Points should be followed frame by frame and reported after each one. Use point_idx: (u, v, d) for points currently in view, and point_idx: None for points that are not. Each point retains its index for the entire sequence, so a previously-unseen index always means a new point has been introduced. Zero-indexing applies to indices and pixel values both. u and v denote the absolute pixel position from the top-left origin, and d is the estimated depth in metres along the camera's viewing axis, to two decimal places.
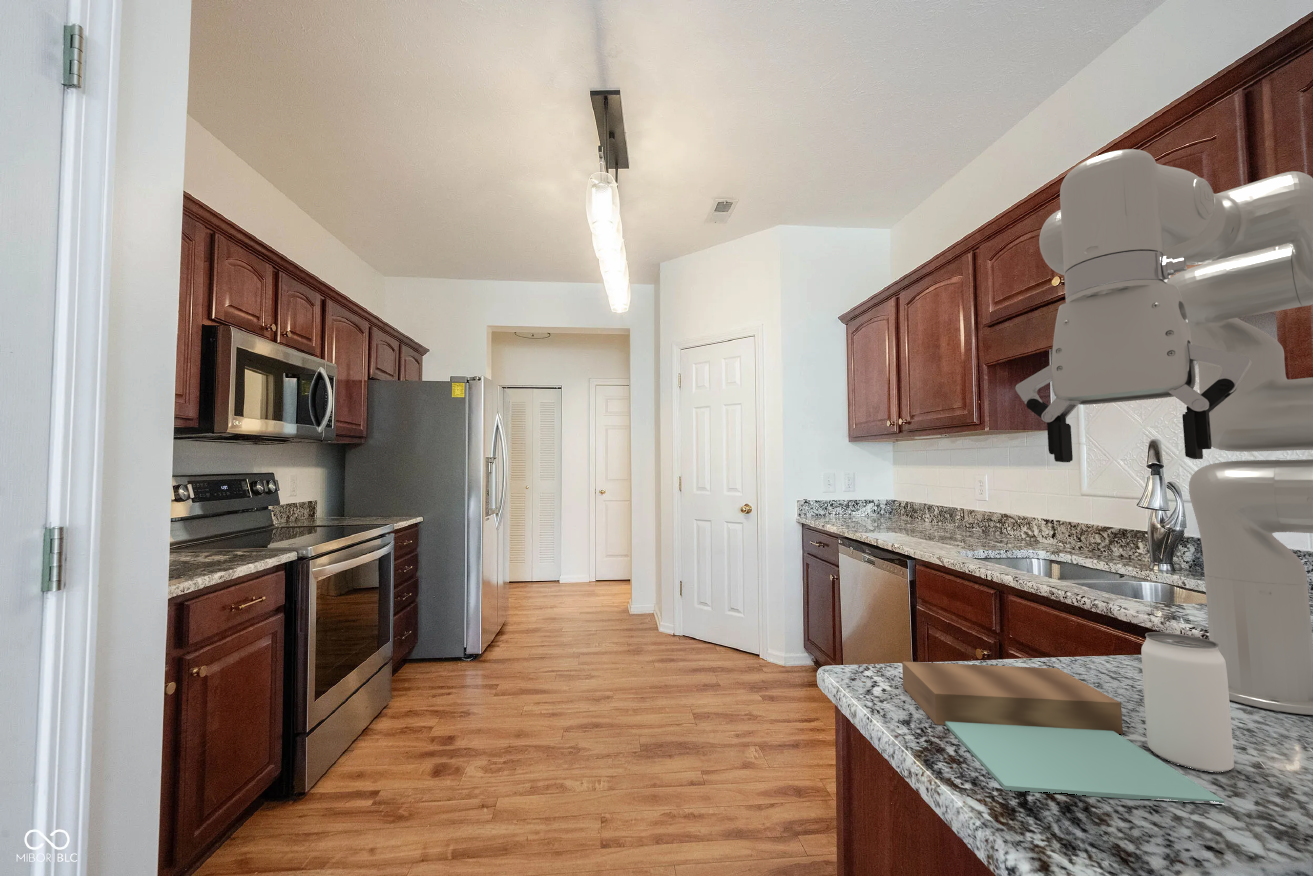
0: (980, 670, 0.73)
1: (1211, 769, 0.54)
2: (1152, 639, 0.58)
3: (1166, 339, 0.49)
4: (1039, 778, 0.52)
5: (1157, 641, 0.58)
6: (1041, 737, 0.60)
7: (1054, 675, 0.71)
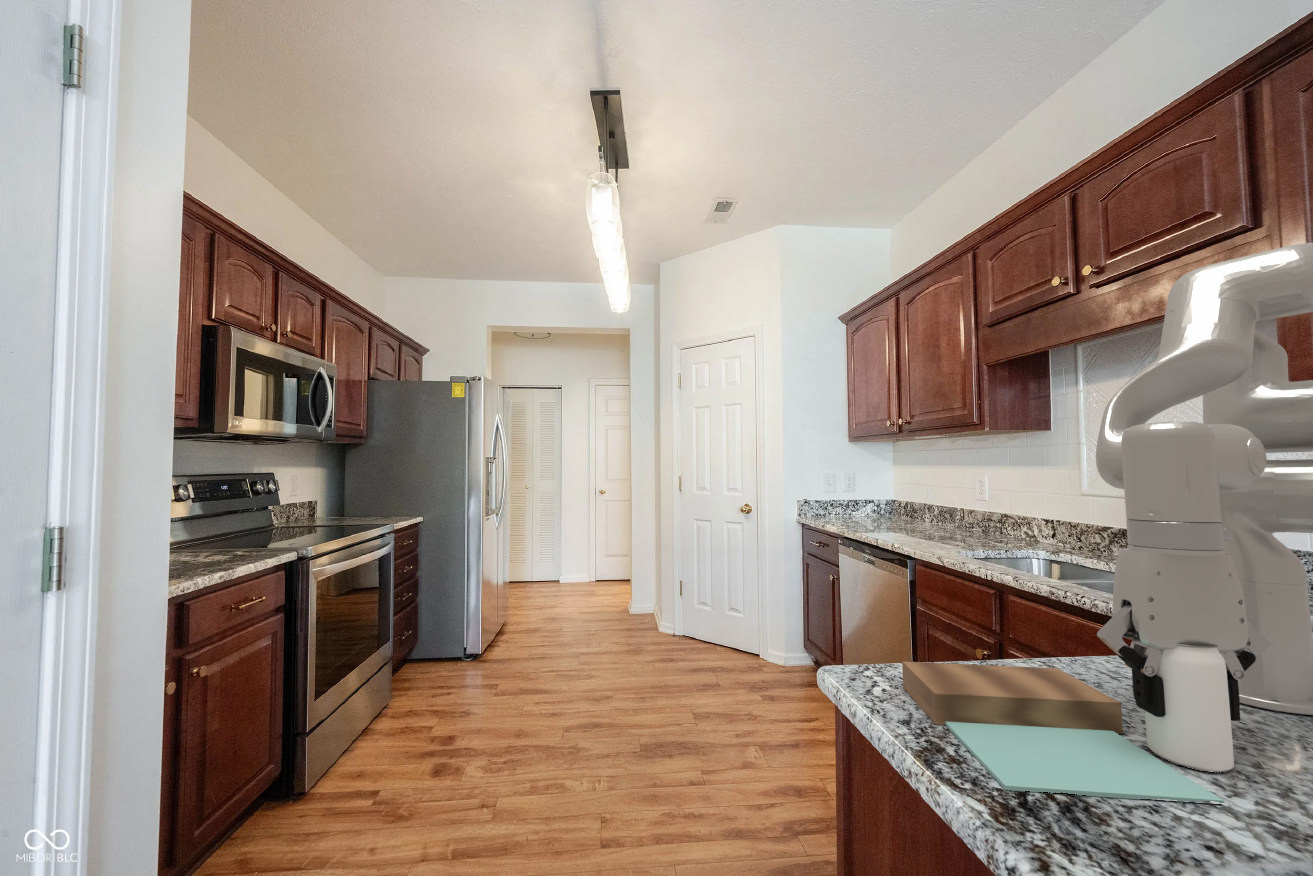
0: (980, 670, 0.73)
1: (1211, 769, 0.54)
2: None
3: (1238, 607, 0.56)
4: (1039, 778, 0.52)
5: None
6: (1041, 737, 0.60)
7: (1054, 675, 0.71)
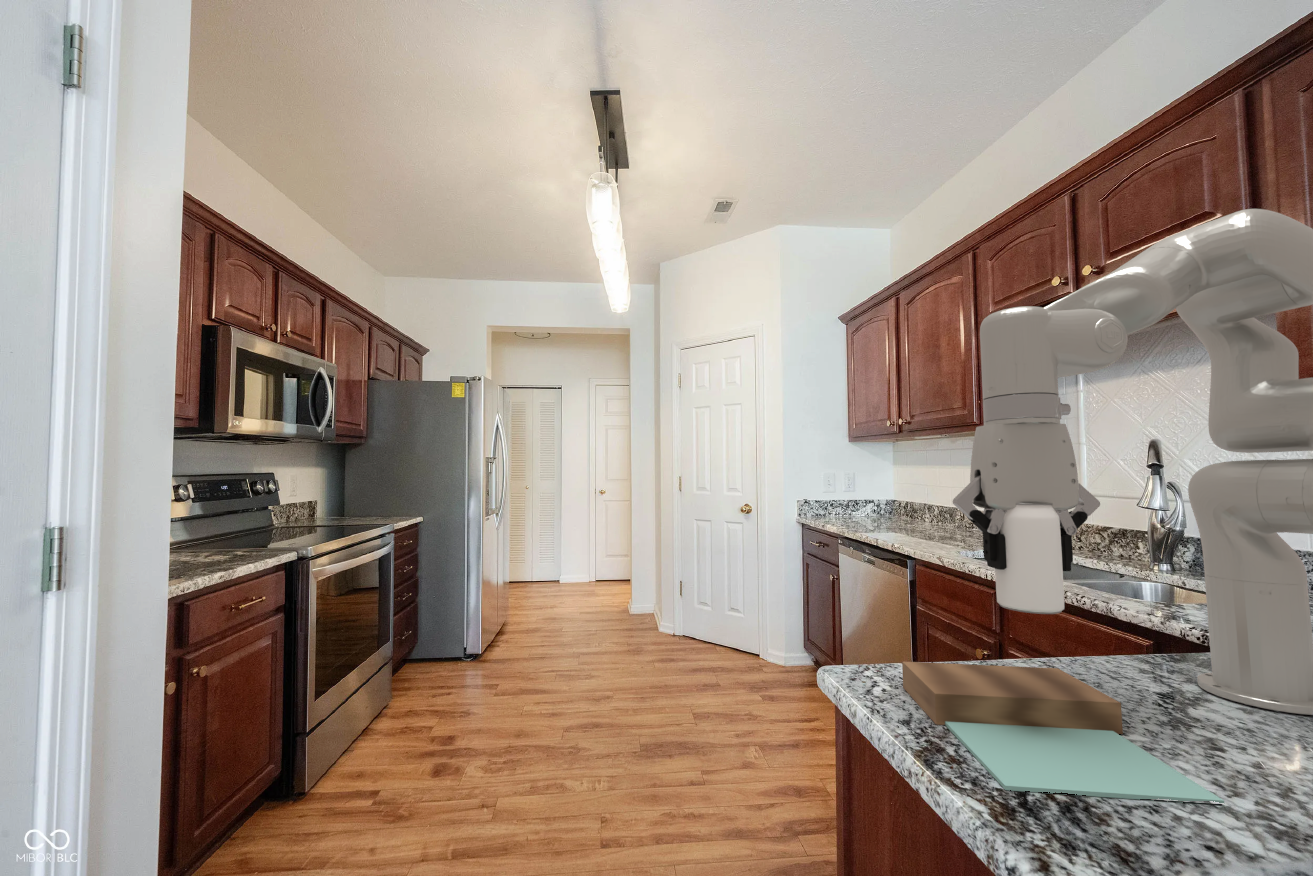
0: (980, 670, 0.73)
1: (1041, 610, 0.60)
2: None
3: (1070, 469, 0.62)
4: (1039, 778, 0.52)
5: None
6: (1041, 737, 0.60)
7: (1054, 675, 0.71)
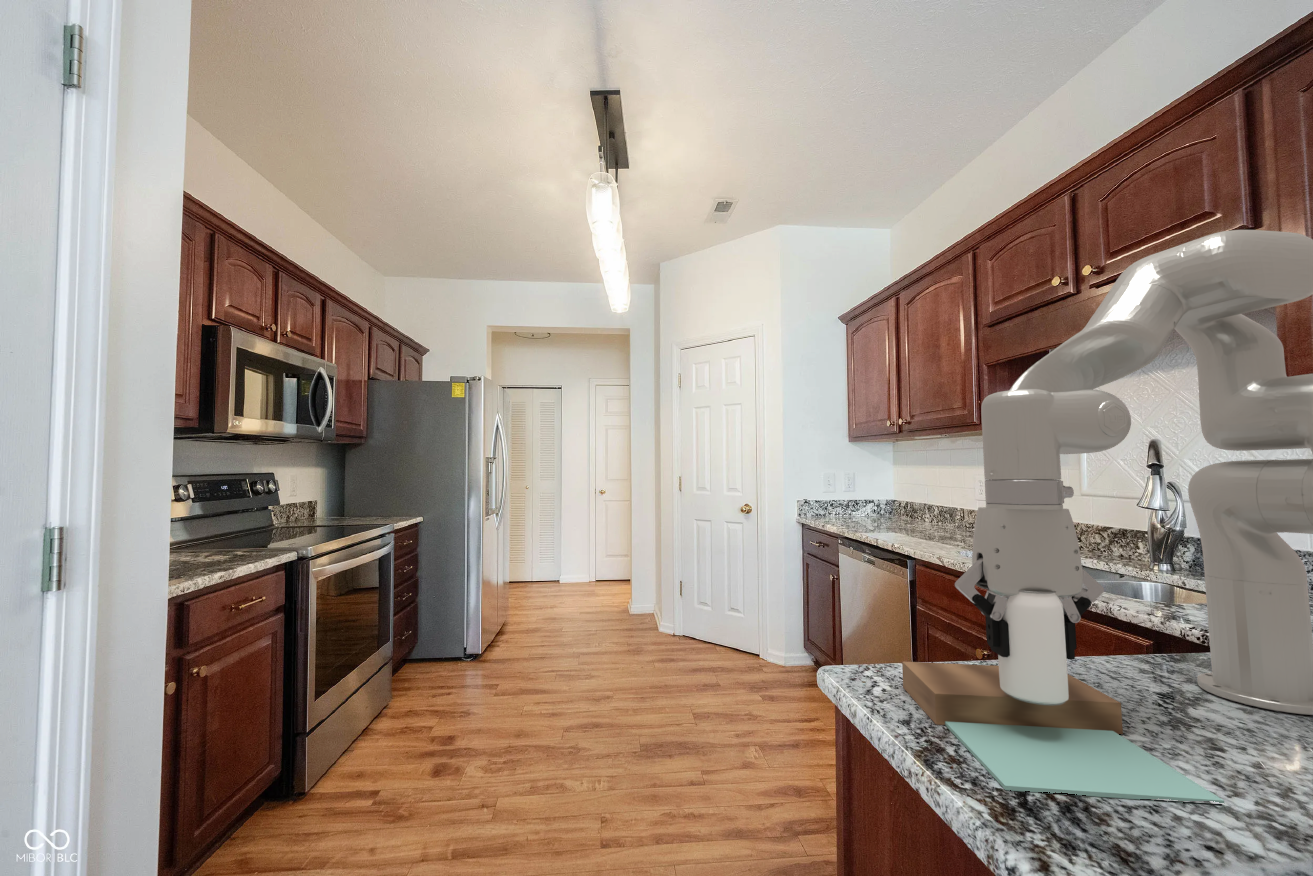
0: (980, 670, 0.73)
1: (1045, 702, 0.59)
2: None
3: (1073, 556, 0.61)
4: (1039, 778, 0.52)
5: None
6: (1041, 737, 0.60)
7: None
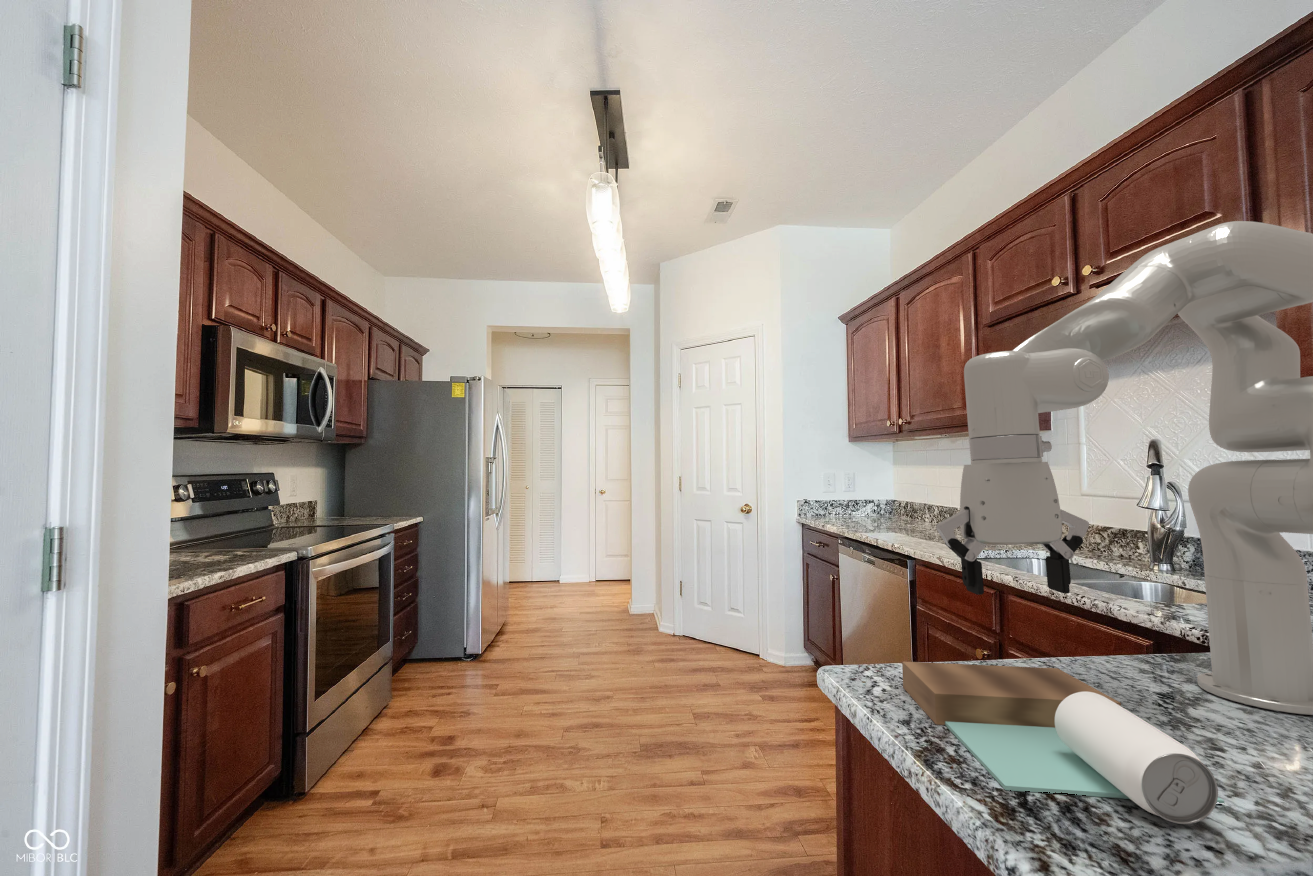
0: (980, 670, 0.73)
1: (1062, 740, 0.57)
2: (1152, 762, 0.46)
3: (1053, 505, 0.66)
4: (1039, 778, 0.52)
5: (1147, 766, 0.46)
6: (1041, 737, 0.60)
7: (1054, 675, 0.71)
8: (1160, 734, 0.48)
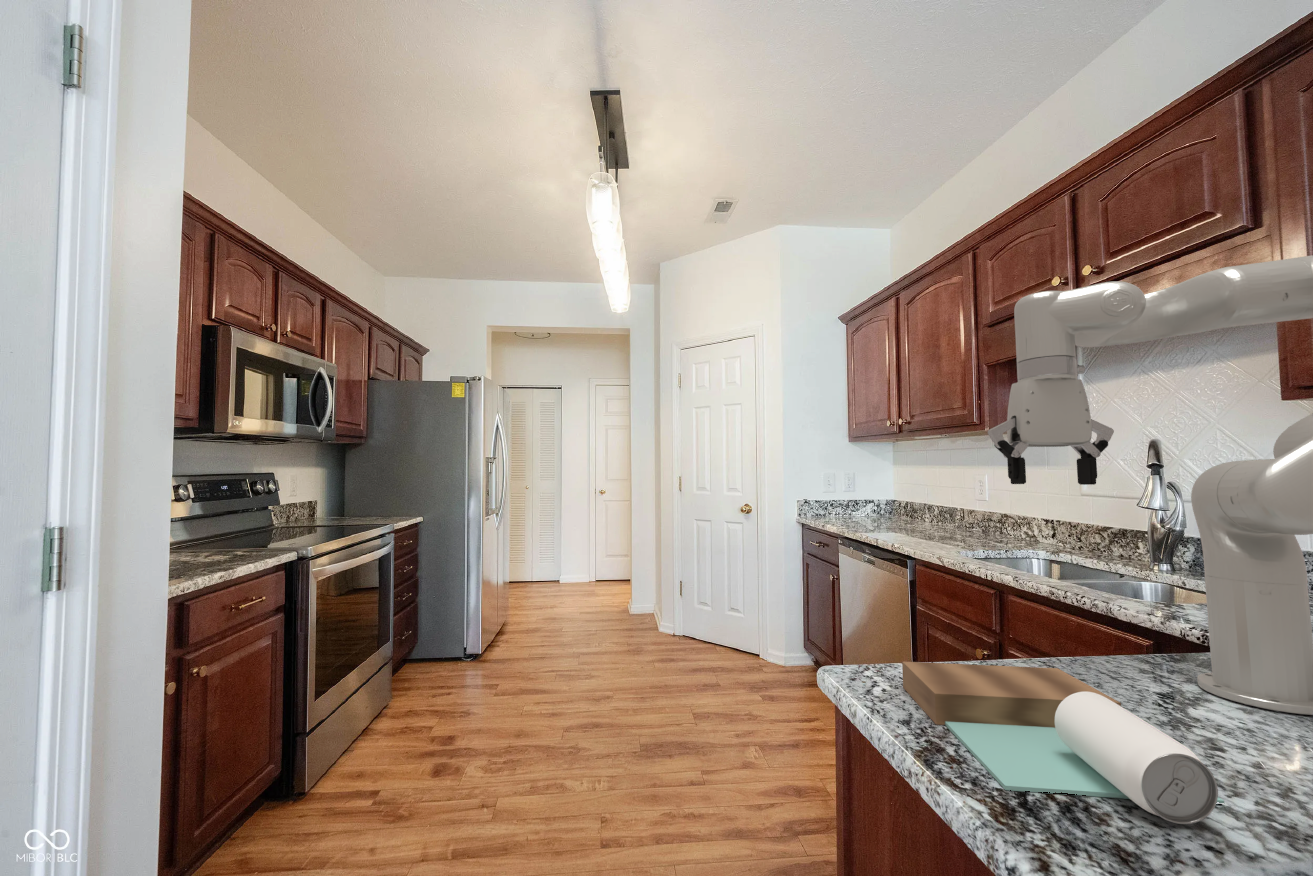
0: (980, 670, 0.73)
1: None
2: (1152, 762, 0.46)
3: (1085, 413, 0.82)
4: (1039, 778, 0.52)
5: (1147, 767, 0.46)
6: (1041, 737, 0.60)
7: (1054, 675, 0.71)
8: (1160, 734, 0.48)
